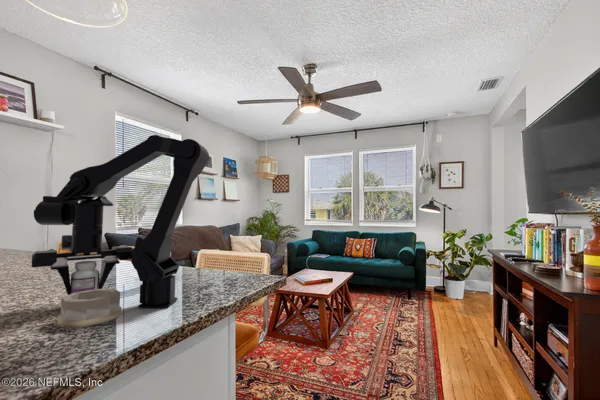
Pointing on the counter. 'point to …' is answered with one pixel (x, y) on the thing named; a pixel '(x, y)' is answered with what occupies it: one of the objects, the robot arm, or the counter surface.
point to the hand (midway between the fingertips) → (84, 293)
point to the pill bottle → (85, 277)
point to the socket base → (89, 308)
